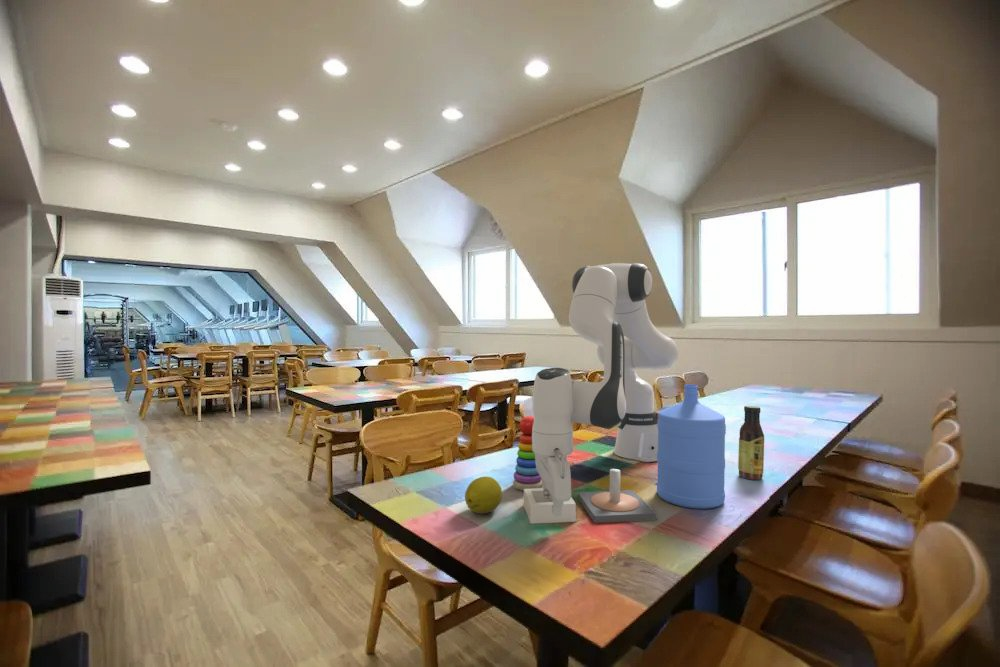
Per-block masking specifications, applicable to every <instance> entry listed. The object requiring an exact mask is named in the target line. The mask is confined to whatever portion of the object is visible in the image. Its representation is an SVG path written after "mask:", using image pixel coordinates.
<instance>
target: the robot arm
mask: <svg viewBox="0 0 1000 667" xmlns="http://www.w3.org/2000/svg"><path fill="white" fill-rule="evenodd" d="M571 284H572V286H571V288H572V293H573V296H572V299H571V303H570V305H569V306H570V307H569V312H568V321H569V326H571V328H572V330H573V331H574V332H575V333H576V335H578V336H580V337H581V338H583V339H585V340H586V341H588V342H591V343H593V344H595V345H598V346H597V349H596V351H597V352H596V354H597V357H598V360H599V361H600V363H601V364H602V365H603V378H602V380H600V381H597V382H593V381H580V380H575V379H573V378H572V376H571V371H570V370H568V369H565V368H562V367H550V368H544V369H542V370H540V371H538V372H537V373H536V374H535V377H534V382H533V389H532V413H533V417H534V424H533V427H532V451H533V452H534V453H535V463H536V469H537V472H538V473H539V475H540V477H541V480H542V485H543V486H542V488H543V496H544V497H545V499H551V498H552V499H553V505H552V513H553V515H554V516H561V515H562V506H563V502H564V501H569V500H570V498H571V497H572V477H571V466H570V463H569V461H568V460H567V459H568V455H571V454H572V453H573V451H574V447H573V446H574V429H573V428H574V427H573V424H572V423H576V424H582V425H589V426H592V427H593V426H594V427H596V428H597V427H598V428H601V429H605V430H610V429H613V428H614V427H617V432H616V439H615V443H614V448H613V451H612V452H613V453H614V455H616V456H618V457H622V458H623V459H630V460H637V461H641V462H644V463H650V462H658V461H657V451H658V427H657V424H658V413H659V412H656V411H654V409H655V408H654V406H655V404H654V403H655V402H654V400H655V391H654V388H653V386H652V385H651V384H650V383H649V382H648V381H646V380H644V379H642V378H641V377H640V376H639V375H638V374H637V370H649V371H650V370H651V371H659V370H667V369H671V368H672V367H674V366H675V364H676V363H677V361H678V358H679V349H678V346H677V343H676V342H675V341H674V340H673V338H671V337H669V336H667V335H665V334H664V333H662V332H661V331H660V330H659V329H658V328H657V327H656V326H655V325H654V324H653V322H652V321H651V319H650V315H649V312H648V308H647V303H646V299H647V298H648V297H649V296H650V295H651V290H652V287H653V277H652V273H651V270H650V268H649V267H647V266H646V265H645V263H644V264H643V263H639V262H632V263H625V262H624V263H622V262H617V263H616V262H615V263H611V262H610V263H609V264H608V263H607V264H605V263H604V264H598V265H593V266H591V265H587V266H583V267H580V268H578V269H577V270H576V271H575V273H574V275H573V277H572V283H571Z"/></svg>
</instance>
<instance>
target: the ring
mask: <svg viewBox="0 0 1000 667" xmlns="http://www.w3.org/2000/svg"><path fill="white" fill-rule="evenodd" d="M552 505H553V499H552V498H551V499H545V497H544V496H543V487H542V488H533V489H524V491H523V507H524V511H525V513H526V515H527V518H528V521H529V523H530V525H532V524H533V525H534V524H536V525H537V524H554V523H557V524H558V523H575V522H577V520H576V517H577V510H576V509H577V508H576V505H577V504H576V502H575V501H574V499H573V497H572V496H571V498H570V500H569V501H564V502H563V506H562V515H561V516H554V515H553V513H552Z"/></svg>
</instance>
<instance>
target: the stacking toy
mask: <svg viewBox="0 0 1000 667" xmlns="http://www.w3.org/2000/svg"><path fill="white" fill-rule="evenodd" d="M533 424H534V416H531V415H528V416H526V415H525V416H524V417H522V419H521V420H520V422H519V429H520V431H521V433H522V434H520V435H519V443H518V444H517V447H518V450H517V453H516V454H517V457H516V460H515V462H516V465H515V467H514V468H515V472H513V478H514V479H513V481H512V486H513V487H514V488H516V489H517V490H519V491H523V492H524V489H533V488H543V485H542V479H541V477H540V475H539V473H538V472H537V469H536V463H535V453H534V452H533V451H532V427H533Z"/></svg>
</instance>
